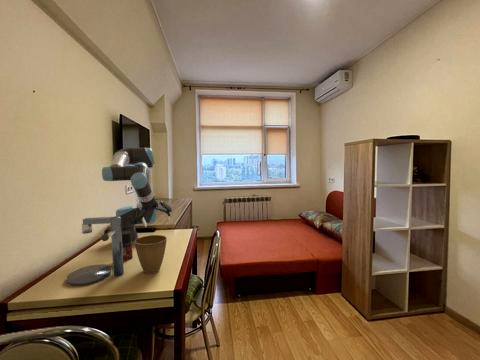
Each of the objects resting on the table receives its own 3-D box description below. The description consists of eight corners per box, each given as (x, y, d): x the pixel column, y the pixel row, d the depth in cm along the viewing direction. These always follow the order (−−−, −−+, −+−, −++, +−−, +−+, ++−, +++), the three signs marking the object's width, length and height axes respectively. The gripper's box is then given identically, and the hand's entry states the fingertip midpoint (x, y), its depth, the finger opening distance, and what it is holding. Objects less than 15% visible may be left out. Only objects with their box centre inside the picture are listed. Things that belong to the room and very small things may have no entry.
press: (58, 280, 110) (54, 221, 108) (98, 265, 126) (95, 213, 125) (94, 295, 97) (90, 227, 95) (134, 275, 113) (131, 218, 111)
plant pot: (149, 280, 109) (147, 246, 108) (129, 272, 117) (128, 241, 115) (174, 268, 121) (173, 237, 120) (155, 262, 129) (153, 233, 128)
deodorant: (132, 255, 138) (131, 230, 137) (132, 259, 133) (131, 233, 132) (121, 257, 136) (119, 231, 135) (120, 261, 131) (119, 234, 130)
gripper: (122, 208, 123) (135, 232, 138) (170, 197, 128) (179, 221, 142) (123, 198, 129) (136, 222, 143) (169, 187, 134) (177, 212, 148)
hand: (157, 222), depth 143 cm, fingers open, 13 cm apart
